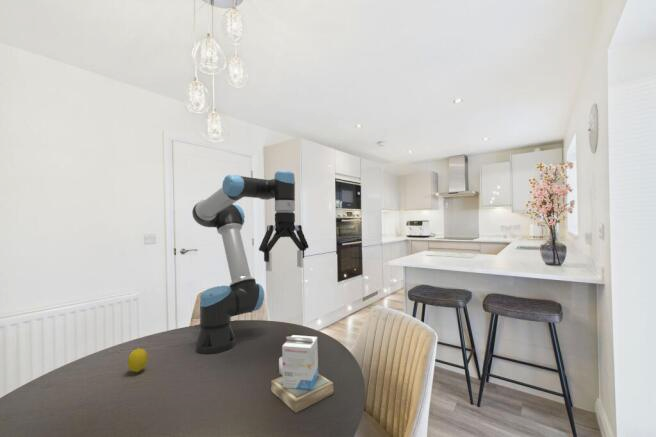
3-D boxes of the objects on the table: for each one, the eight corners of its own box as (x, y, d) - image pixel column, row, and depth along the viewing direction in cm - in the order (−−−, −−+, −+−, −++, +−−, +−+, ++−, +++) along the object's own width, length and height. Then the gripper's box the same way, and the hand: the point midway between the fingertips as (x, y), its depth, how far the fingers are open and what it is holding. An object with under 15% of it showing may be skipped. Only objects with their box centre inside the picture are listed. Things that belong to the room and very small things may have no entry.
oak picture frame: (271, 391, 82) (271, 379, 82) (306, 375, 91) (306, 365, 91) (295, 413, 72) (295, 400, 73) (333, 393, 81) (333, 382, 81)
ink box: (318, 375, 85) (318, 330, 85) (311, 391, 77) (311, 341, 77) (291, 372, 87) (291, 328, 87) (281, 387, 78) (281, 339, 79)
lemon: (150, 370, 95) (151, 346, 96) (133, 378, 90) (134, 353, 91) (140, 367, 98) (141, 343, 98) (123, 374, 93) (124, 350, 93)
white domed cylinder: (274, 370, 94) (274, 358, 95) (292, 363, 99) (292, 352, 99) (286, 379, 89) (286, 366, 89) (304, 371, 94) (304, 359, 94)
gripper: (259, 210, 94) (259, 273, 94) (317, 212, 111) (317, 266, 110) (249, 211, 100) (249, 271, 99) (305, 213, 116) (306, 264, 116)
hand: (285, 269), depth 105 cm, fingers open, 13 cm apart
